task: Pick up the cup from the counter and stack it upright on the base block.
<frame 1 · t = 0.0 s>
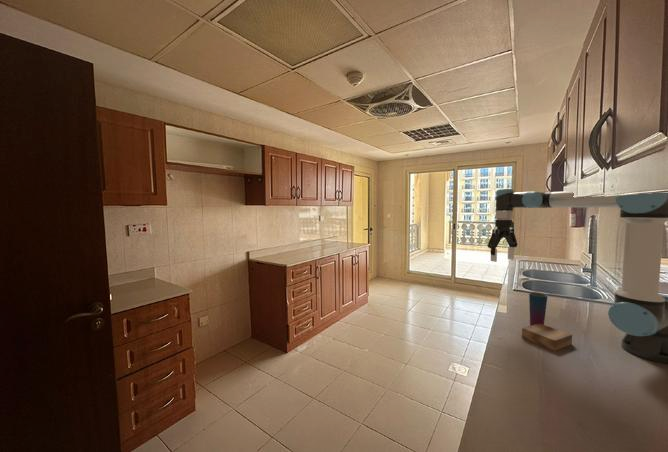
hand: (502, 260, 139), 28 cm above the countertop, fingers open, 13 cm apart
base block: (546, 340, 111), on the countertop
cup: (536, 326, 125), on the countertop
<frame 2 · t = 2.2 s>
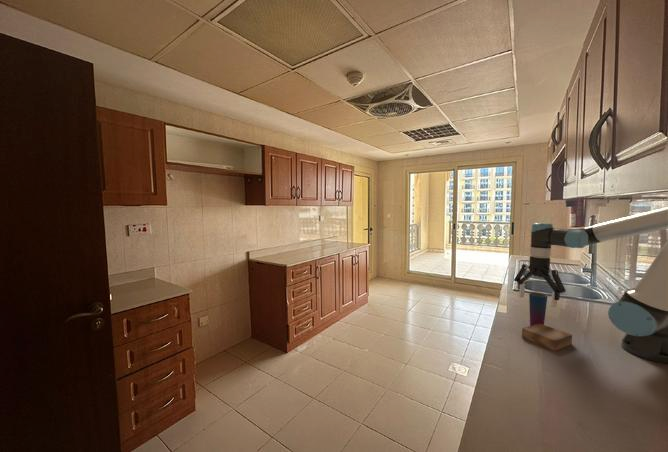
hand: (536, 301, 125), 11 cm above the countertop, fingers open, 13 cm apart
nothing on the countertop moved.
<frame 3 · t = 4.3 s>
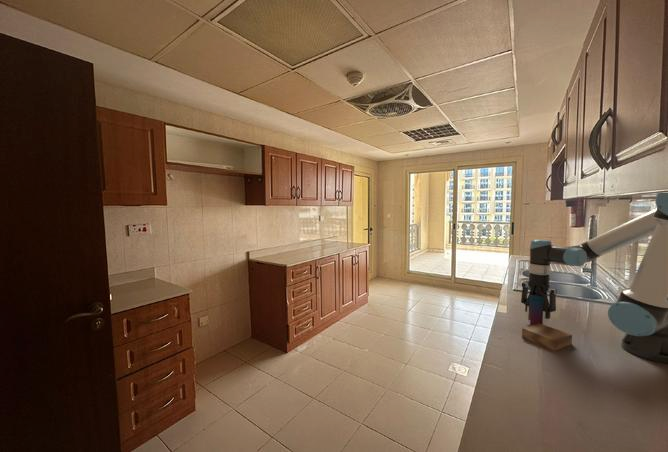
hand: (536, 322, 125), 2 cm above the countertop, fingers closed on cup, 6 cm apart
cup: (536, 326, 125), on the countertop, touching gripper
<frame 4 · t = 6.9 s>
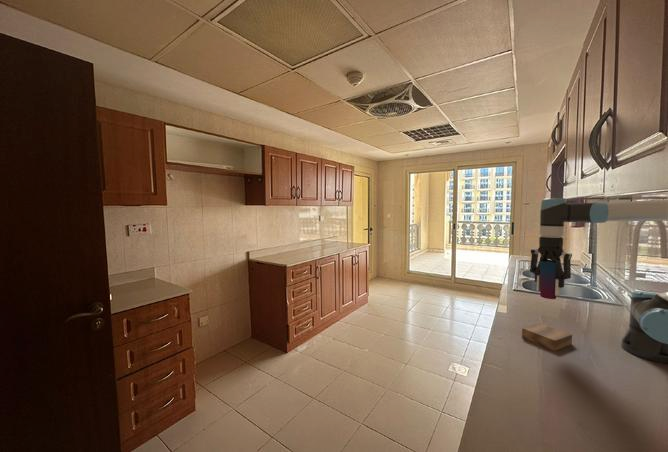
hand: (548, 292, 110), 20 cm above the countertop, fingers closed on cup, 6 cm apart
cup: (548, 297, 110), point 18 cm above the countertop, touching gripper
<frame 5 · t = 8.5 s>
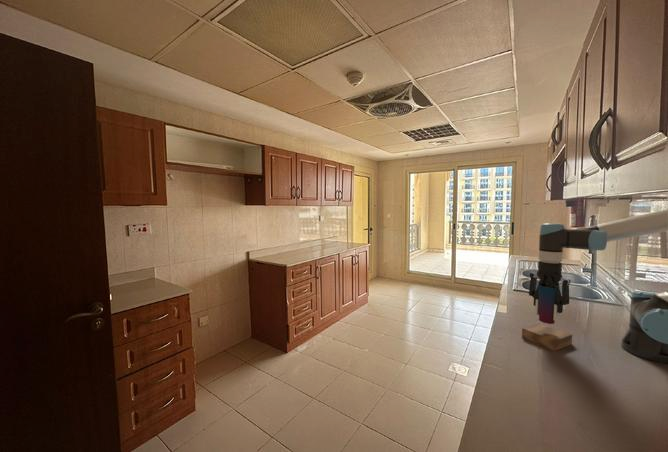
hand: (546, 316, 110), 10 cm above the countertop, fingers closed on cup, 6 cm apart
cup: (546, 321, 110), point 8 cm above the countertop, touching gripper
when the fingers open (7 cm above the countertop, at t = 9.9 s): cup drops 1 cm, resting on base block.
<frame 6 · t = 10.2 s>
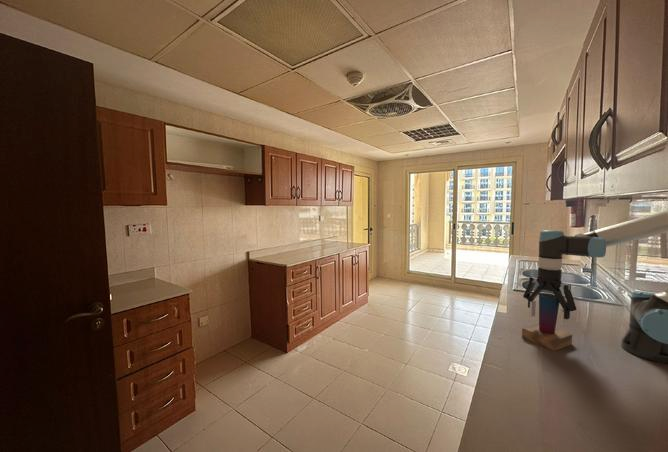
hand: (547, 320, 110), 8 cm above the countertop, fingers open, 10 cm apart
cup: (546, 331, 111), point 4 cm above the countertop, touching base block
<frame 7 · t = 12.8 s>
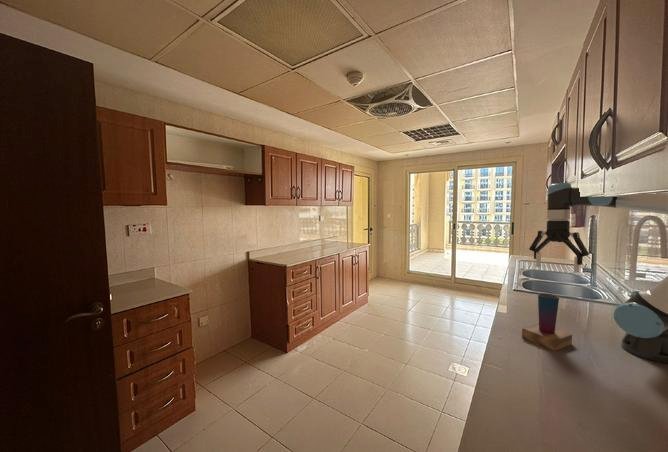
hand: (556, 269, 115), 28 cm above the countertop, fingers open, 13 cm apart
nothing on the countertop moved.
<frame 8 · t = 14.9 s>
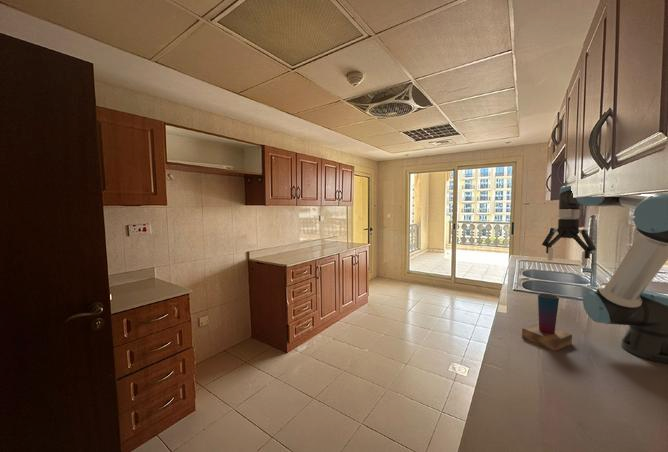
hand: (566, 262, 129), 29 cm above the countertop, fingers open, 13 cm apart
nothing on the countertop moved.
at the end: cup inside the target area on the base block (0.1 cm from its centre), point 3.8 cm above the base block's base; cup tilted 0°; the gripper is holding nothing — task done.
